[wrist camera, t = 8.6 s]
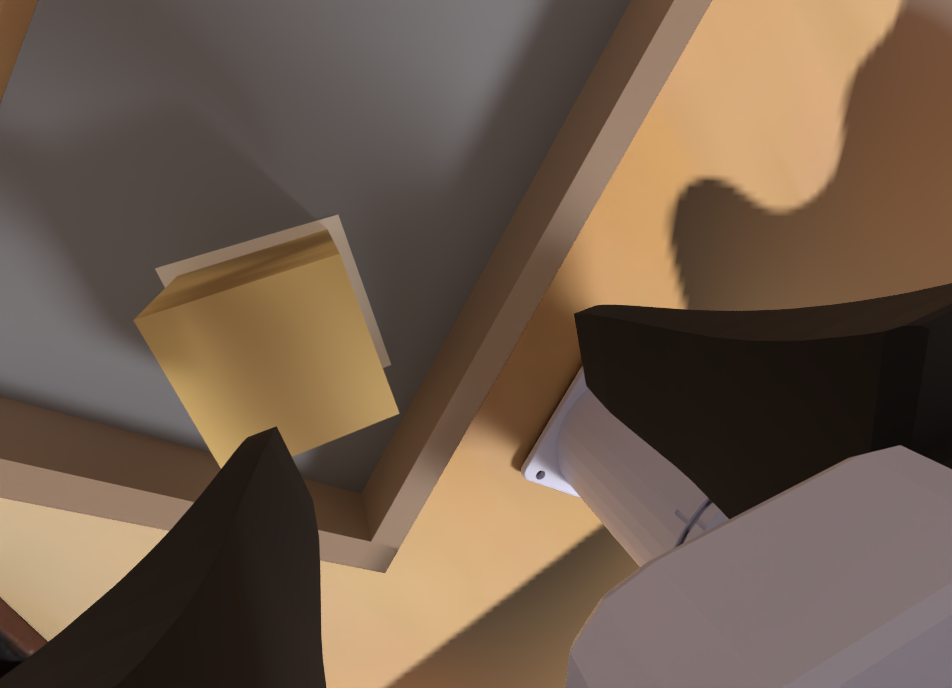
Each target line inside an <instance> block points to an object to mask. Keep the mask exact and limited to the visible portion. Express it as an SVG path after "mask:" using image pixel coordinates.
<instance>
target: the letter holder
mask: <svg viewBox="0 0 952 688" xmlns="http://www.w3.org/2000/svg"><path fill="white" fill-rule="evenodd" d="M47 643H48V642H47V641H46V640H45V639H44V638H43V637H42V636H40V635H39V634H38V633H37V632H36V631H35V630H34V629H33V628H32V627H31V626H30V625H29V624H28V623H27V622H25V621H24V620H23V619H22V618H21V617H20V616H19V615H18V614H17V613H16V612H15V611H13V610H12V609H11V608H10V607H9V606H8V605H7V604H6V603H5V602H4V601H3V600H2V599H1V598H0V679H1V678H2V677H3V676H5V675H6V674H7V673H9V672H10V671H11V670H13V669H14V668H15V667H17V666H18V665H20V664H21V663H22V662H23V661H25V660H26V659H27V658H29V657H30V656H31V655H32V654H34V653H35V652H36V651H38V650H39V649H40V648H41V647H43V646H44V645H45V644H47Z"/></svg>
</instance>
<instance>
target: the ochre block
mask: <svg viewBox="0 0 952 688" xmlns="http://www.w3.org/2000/svg"><path fill="white" fill-rule="evenodd" d="M133 321H134V322H135V324H136V326H137V327H138V329H139V331H140V332H141V334H142V336H143V337H144V339H145V341H146V343H147V344H148V346H149V348H150V349H151V351H152V353H153V354H154V356H155V358H156V359H157V361H158V363H159V365H160V366H161V368H162V370H163V371H164V373H165V375H166V376H167V378H168V380H169V381H170V383H171V385H172V387H173V388H174V390H175V392H176V393H177V395H178V397H179V398H180V400H181V402H182V403H183V405H184V407H185V409H186V410H187V412H188V414H189V415H190V417H191V419H192V420H193V422H194V424H195V425H196V427H197V429H198V431H199V432H200V434H201V436H202V437H203V439H204V441H205V442H206V444H207V446H208V447H209V449H210V451H211V453H212V454H213V456H214V458H215V459H216V461H217V463H218V464H219V466H220V468H221V469H222V467H223V466H224V465H225V463H226V462H227V461H228V459H229V458H230V457H231V456H232V454H233V453H234V452H235V451H236V449H237V448H238V447H239V446H240V445H241V443H242V442H243V441H244V440H245V439H246V438H247V437H249V436H252V435H255V434H257V433H260V432H262V431H265V430H268V429H270V428H273V427H276V426H277V428H278V430H279V432H280V434H281V436H282V438H283V440H284V442H285V444H286V446H287V448H288V450H289V452H290V454H291V456H292V457H293V456H295V455H298V454H300V453H303V452H305V451H308V450H310V449H313V448H315V447H318V446H320V445H323V444H325V443H328V442H330V441H333V440H335V439H338V438H340V437H342V436H345V435H347V434H350V433H352V432H355V431H357V430H360V429H362V428H365V427H367V426H370V425H372V424H375V423H377V422H380V421H382V420H385V419H387V418H390V417H392V416H395V415H397V414H400V413H399V411H398V408H397V405H396V403H395V400H394V397H393V394H392V392H391V389H390V386H389V384H388V381H387V378H386V376H385V373H384V370H383V368H382V365H381V362H380V360H379V357H378V354H377V352H376V349H375V346H374V344H373V341H372V338H371V336H370V333H369V330H368V328H367V325H366V322H365V320H364V317H363V314H362V312H361V309H360V306H359V304H358V301H357V298H356V296H355V293H354V290H353V288H352V285H351V282H350V280H349V277H348V274H347V272H346V269H345V266H344V264H343V261H342V258H341V256H340V253H339V251H338V249H337V247H336V245H335V243H334V241H333V239H332V237H331V235H330V233H329V231H328V229H327V230H324V231H320V232H317V233H314V234H311V235H307V236H304V237H301V238H298V239H295V240H291V241H288V242H285V243H282V244H278V245H275V246H272V247H269V248H266V249H262V250H259V251H256V252H253V253H249V254H246V255H243V256H240V257H237V258H233V259H230V260H227V261H224V262H220V263H217V264H214V265H211V266H208V267H204V268H201V269H198V270H195V271H191V272H188V273H185V274H182V275H179V276H177V277H176V278H175V279H174V280H173V281H172V282H171V283H170V284H169V285H168V286H167V287H166V288H165V289H164V290H163V291H162V292H161V293H160V294H159V295H158V296H157V297H156V298H155V299H154V300H153V301H152V302H151V303H150V304H149V305H148V306H147V307H146V308H145V309H144V310H143V311H142V312H141V313H140V314H139V315H138V316H137V317H136V318H135V319H134V320H133Z"/></svg>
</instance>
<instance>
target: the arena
mask: <svg viewBox="0 0 952 688" xmlns="http://www.w3.org/2000/svg"><path fill="white" fill-rule="evenodd" d="M711 2H712V0H38V2H37V5H36V8H35V11H34V13H33V16H32V19H31V21H30V24H29V27H28V30H27V32H26V35H25V38H24V40H23V43H22V46H21V49H20V51H19V54H18V57H17V59H16V62H15V65H14V68H13V70H12V73H11V76H10V78H9V81H8V84H7V87H6V89H5V92H4V95H3V97H2V100H1V103H0V498H5V499H10V500H15V501H20V502H25V503H31V504H36V505H41V506H46V507H51V508H56V509H61V510H66V511H71V512H76V513H82V514H87V515H92V516H97V517H102V518H107V519H112V520H117V521H122V522H127V523H132V524H138V525H143V526H148V527H153V528H158V529H163V530H168V531H170V530H171V529H172V528H173V526H174V525H175V524H176V523H177V522H178V521H179V520H180V518H181V517H182V516H183V515H184V514H185V513H186V511H187V510H188V509H189V508H190V507H191V506H192V504H193V503H194V502H195V501H196V500H197V499H198V497H199V496H200V495H201V494H202V493H203V491H204V490H205V489H206V488H207V486H208V485H209V484H210V482H211V481H212V480H213V479H214V477H215V476H216V475H217V474H218V472H219V471H220V470H221V468H220V466H219V464H218V463H217V461H216V459H215V458H214V456H213V454H212V453H211V451H210V449H209V447H208V446H207V444H206V442H205V441H204V439H203V437H202V436H201V434H200V432H199V431H198V429H197V427H196V425H195V424H194V422H193V420H192V419H191V417H190V415H189V414H188V412H187V410H186V409H185V407H184V405H183V403H182V402H181V400H180V398H179V397H178V395H177V393H176V392H175V390H174V388H173V387H172V385H171V383H170V381H169V380H168V378H167V376H166V375H165V373H164V371H163V370H162V368H161V366H160V365H159V363H158V361H157V359H156V358H155V356H154V354H153V353H152V351H151V349H150V348H149V346H148V344H147V343H146V341H145V339H144V337H143V336H142V334H141V332H140V331H139V329H138V327H137V326H136V324H135V322H134V321H133V320H134V319H135V318H136V317H137V316H138V315H139V314H140V313H141V312H142V311H143V310H144V309H145V308H146V307H147V306H148V305H149V304H150V303H151V302H152V301H153V300H154V299H155V298H156V297H157V296H158V295H159V294H160V293H161V292H162V291H163V290H164V289H165V288H166V287H167V286H168V285H169V284H170V283H171V282H172V281H173V280H174V279H175V278H176V277H177V276H179V275H182V274H185V273H188V272H191V271H195V270H198V269H201V268H204V267H208V266H211V265H214V264H217V263H220V262H224V261H227V260H230V259H233V258H237V257H240V256H243V255H246V254H249V253H253V252H256V251H259V250H262V249H266V248H269V247H272V246H275V245H278V244H282V243H285V242H288V241H291V240H295V239H298V238H301V237H304V236H307V235H311V234H314V233H317V232H320V231H324V230H327V229H328V231H329V233H330V235H331V237H332V239H333V241H334V243H335V245H336V247H337V249H338V251H339V253H340V256H341V258H342V261H343V264H344V266H345V269H346V272H347V274H348V277H349V280H350V282H351V285H352V288H353V290H354V293H355V296H356V298H357V301H358V304H359V306H360V309H361V312H362V314H363V317H364V320H365V322H366V325H367V328H368V330H369V333H370V336H371V338H372V341H373V344H374V346H375V349H376V352H377V354H378V357H379V360H380V362H381V365H382V368H383V370H384V373H385V376H386V378H387V381H388V384H389V386H390V389H391V392H392V394H393V397H394V400H395V403H396V405H397V408H398V411H399V413H400V414H397V415H395V416H392V417H390V418H387V419H385V420H382V421H380V422H377V423H375V424H372V425H370V426H367V427H365V428H362V429H360V430H357V431H355V432H352V433H350V434H347V435H345V436H342V437H340V438H338V439H335V440H333V441H330V442H328V443H325V444H323V445H320V446H318V447H315V448H313V449H310V450H308V451H305V452H303V453H300V454H298V455H295V456H293V457H292V458H293V460H294V462H295V464H296V466H297V468H298V470H299V472H300V474H301V476H302V478H303V480H304V482H305V485H306V487H307V489H308V491H309V493H310V495H311V497H312V499H313V504H314V509H315V515H316V520H317V527H318V533H319V544H320V560H321V561H326V562H331V563H336V564H341V565H347V566H352V567H357V568H362V569H367V570H372V571H377V572H382V573H385V572H386V571H387V569H388V567H389V565H390V564H391V562H392V560H393V558H394V557H395V555H396V553H397V551H398V550H399V548H400V546H401V544H402V543H403V541H404V539H405V537H406V536H407V534H408V532H409V530H410V529H411V527H412V525H413V523H414V522H415V520H416V518H417V516H418V515H419V513H420V511H421V509H422V508H423V506H424V504H425V502H426V501H427V499H428V497H429V495H430V494H431V492H432V490H433V488H434V487H435V485H436V483H437V481H438V480H439V478H440V476H441V474H442V473H443V471H444V469H445V467H446V466H447V464H448V462H449V460H450V459H451V457H452V455H453V453H454V452H455V450H456V448H457V446H458V445H459V443H460V441H461V439H462V438H463V436H464V434H465V432H466V431H467V429H468V427H469V425H470V424H471V422H472V420H473V418H474V417H475V415H476V413H477V411H478V410H479V408H480V406H481V404H482V403H483V401H484V399H485V397H486V396H487V394H488V392H489V390H490V389H491V387H492V385H493V383H494V382H495V380H496V378H497V376H498V375H499V373H500V371H501V369H502V368H503V366H504V364H505V362H506V361H507V359H508V357H509V355H510V354H511V352H512V350H513V348H514V347H515V345H516V343H517V341H518V340H519V338H520V336H521V334H522V333H523V331H524V329H525V327H526V326H527V324H528V322H529V320H530V318H531V317H532V315H533V313H534V311H535V310H536V308H537V306H538V304H539V303H540V301H541V299H542V297H543V296H544V294H545V292H546V290H547V289H548V287H549V285H550V283H551V282H552V280H553V278H554V276H555V275H556V273H557V271H558V269H559V268H560V266H561V264H562V262H563V261H564V259H565V257H566V255H567V254H568V252H569V250H570V248H571V247H572V245H573V243H574V241H575V240H576V238H577V236H578V234H579V233H580V231H581V229H582V227H583V226H584V224H585V222H586V220H587V219H588V217H589V215H590V213H591V212H592V210H593V208H594V206H595V205H596V203H597V201H598V199H599V198H600V196H601V194H602V192H603V191H604V189H605V187H606V185H607V184H608V182H609V180H610V178H611V177H612V175H613V173H614V171H615V170H616V168H617V166H618V164H619V163H620V161H621V159H622V157H623V156H624V154H625V152H626V150H627V149H628V147H629V145H630V143H631V142H632V140H633V138H634V136H635V135H636V133H637V131H638V129H639V128H640V126H641V124H642V122H643V121H644V119H645V117H646V115H647V114H648V112H649V110H650V108H651V107H652V105H653V103H654V101H655V100H656V98H657V96H658V94H659V93H660V91H661V89H662V87H663V86H664V84H665V82H666V80H667V79H668V77H669V75H670V73H671V72H672V70H673V68H674V66H675V65H676V63H677V61H678V59H679V58H680V56H681V54H682V52H683V51H684V49H685V47H686V45H687V44H688V42H689V40H690V38H691V37H692V35H693V33H694V31H695V30H696V28H697V26H698V24H699V23H700V21H701V19H702V17H703V16H704V14H705V12H706V10H707V9H708V7H709V5H710V3H711Z"/></svg>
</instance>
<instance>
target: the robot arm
mask: <svg viewBox="0 0 952 688" xmlns="http://www.w3.org/2000/svg"><path fill="white" fill-rule="evenodd" d="M574 317H575V323H576V328H577V334H578V340H579V346H580V352H581V358H582V364H583V365H582V367H581V368H580V370H579V372H578V374H577V375H576V377H575V379H574V380H573V382H572V384H571V385H570V387H569V389H568V390H567V392H566V394H565V395H564V397H563V399H562V400H561V402H560V404H559V405H558V407H557V409H556V410H555V412H554V414H553V415H552V417H551V419H550V420H549V422H548V424H547V425H546V427H545V429H544V430H543V432H542V434H541V435H540V437H539V439H538V440H537V442H536V444H535V445H534V447H533V449H532V450H531V452H530V454H529V455H528V457H527V459H526V461H525V462H524V464H523V466H522V468H521V473H522V475H523V476H524V478H525V479H526V480H528V481H531V482H534V483H537V484H540V485H543V486H546V487H549V488H552V489H555V490H558V491H561V492H564V493H567V494H570V495H573V496H576V497H579V498H582V500H583V501H584V502H585V503H586V504H587V505H588V507H589V508H590V509H591V510H592V511H593V512H594V514H595V515H596V516H597V517H598V518H599V519H600V521H601V522H602V523H603V524H604V525H605V527H606V528H607V529H608V530H609V531H610V532H611V534H612V535H613V536H614V537H615V538H616V539H617V541H618V542H619V543H620V544H621V545H622V546H623V548H624V549H625V550H626V551H627V552H628V554H629V555H630V556H631V557H632V558H633V559H634V561H635V562H636V563H637V564H638V565H639V566H640V568H639V569H638V570H636V571H635V572H634V573H632V574H631V575H630V576H629V577H627V578H626V579H625V580H623V581H622V582H621V583H619V584H618V585H617V586H615V587H614V588H613V589H612V590H610V591H609V592H607V593H606V594H605V595H604V596H603V597H602V598H601V600H600V601H599V603H598V604H597V606H596V607H595V609H594V610H593V612H592V613H591V615H590V616H589V618H588V619H587V621H586V622H585V624H584V626H583V627H582V629H581V630H580V632H579V633H578V635H577V636H576V638H575V639H574V641H573V644H572V647H571V650H570V654H569V663H568V674H567V682H566V688H952V283H951V284H947V285H942V286H937V287H933V288H928V289H923V290H919V291H915V292H910V293H904V294H899V295H893V296H888V297H881V298H875V299H869V300H863V301H857V302H849V303H842V304H834V305H826V306H816V307H805V308H797V309H782V310H760V311H759V310H758V311H707V310H684V309H669V308H655V307H642V306H628V305H597V306H594V307H591V308H588V309H586V310H583V311H580V312H578V313H575V314H574ZM539 471H541V473H540V474H538V475H536V474H537V473H538V472H539ZM0 688H326V681H325V673H324V665H323V656H322V640H321V591H320V544H319V533H318V527H317V520H316V515H315V509H314V504H313V499H312V497H311V495H310V493H309V491H308V489H307V487H306V485H305V482H304V480H303V478H302V476H301V474H300V472H299V470H298V468H297V466H296V464H295V462H294V460H293V458H292V456H291V454H290V452H289V450H288V448H287V446H286V444H285V442H284V440H283V438H282V436H281V434H280V432H279V430H278V428H277V426H276V427H273V428H270V429H268V430H265V431H262V432H260V433H257V434H255V435H252V436H249V437H247V438H246V439H245V440H244V441H243V442H242V443H241V445H240V446H239V447H238V448H237V449H236V451H235V452H234V453H233V454H232V456H231V457H230V458H229V459H228V461H227V462H226V463H225V465H224V466H223V467H222V469H221V470H220V471H219V472H218V474H217V475H216V476H215V477H214V479H213V480H212V481H211V482H210V484H209V485H208V486H207V488H206V489H205V490H204V491H203V493H202V494H201V495H200V496H199V497H198V499H197V500H196V501H195V502H194V503H193V504H192V506H191V507H190V508H189V509H188V510H187V511H186V513H185V514H184V515H183V516H182V517H181V518H180V520H179V521H178V522H177V523H176V524H175V525H174V526H173V528H172V529H171V530H170V531H169V532H168V533H167V534H166V536H165V537H164V538H163V539H162V540H161V541H160V542H159V543H158V544H157V545H156V546H155V547H154V548H153V549H152V550H151V551H150V552H149V553H148V554H147V555H146V556H145V557H144V558H143V559H142V560H141V561H140V562H139V563H138V564H137V565H136V566H135V567H134V568H133V569H132V570H131V571H130V572H129V573H128V574H127V575H126V576H125V577H124V578H123V579H122V580H120V581H119V582H118V583H117V584H116V585H115V586H114V587H113V588H112V589H110V590H109V591H108V592H107V593H106V594H105V595H103V596H102V597H101V598H100V599H99V600H98V601H97V602H95V603H94V604H93V605H92V606H91V607H90V608H88V609H87V610H86V611H85V612H84V613H83V614H81V615H80V616H79V617H78V618H77V619H76V620H74V621H73V622H72V623H71V624H70V625H69V626H67V627H66V628H65V629H64V630H63V631H62V632H60V633H59V634H58V635H57V636H55V637H54V638H53V639H52V640H50V641H49V642H48V643H47V644H45V645H44V646H43V647H41V648H40V649H39V650H38V651H36V652H35V653H34V654H32V655H31V656H30V657H29V658H27V659H26V660H25V661H23V662H22V663H21V664H20V665H18V666H17V667H15V668H14V669H13V670H11V671H10V672H9V673H7V674H6V675H5V676H3V677H2V678H1V679H0Z"/></svg>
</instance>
